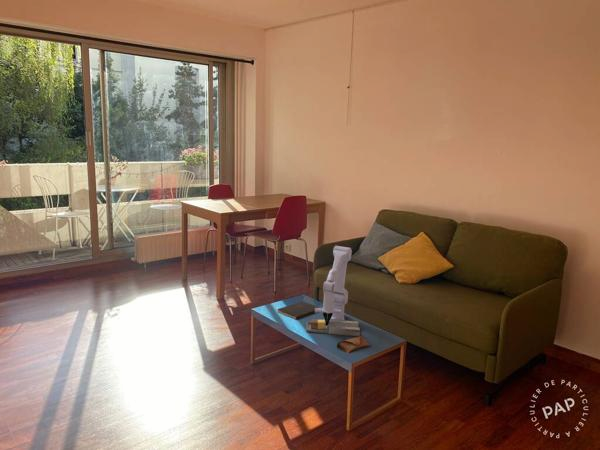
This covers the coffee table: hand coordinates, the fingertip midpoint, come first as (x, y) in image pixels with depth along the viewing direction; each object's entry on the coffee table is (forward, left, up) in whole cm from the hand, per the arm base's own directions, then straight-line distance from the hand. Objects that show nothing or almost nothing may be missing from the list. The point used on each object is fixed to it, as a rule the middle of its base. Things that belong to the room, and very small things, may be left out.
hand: (326, 325), depth 265 cm
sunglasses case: (+20, +14, -3) cm, 24 cm away
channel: (0, +9, -3) cm, 10 cm away
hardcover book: (-25, -16, -3) cm, 30 cm away
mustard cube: (0, -3, -2) cm, 3 cm away
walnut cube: (0, -7, -2) cm, 7 cm away
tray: (0, -5, -3) cm, 6 cm away
